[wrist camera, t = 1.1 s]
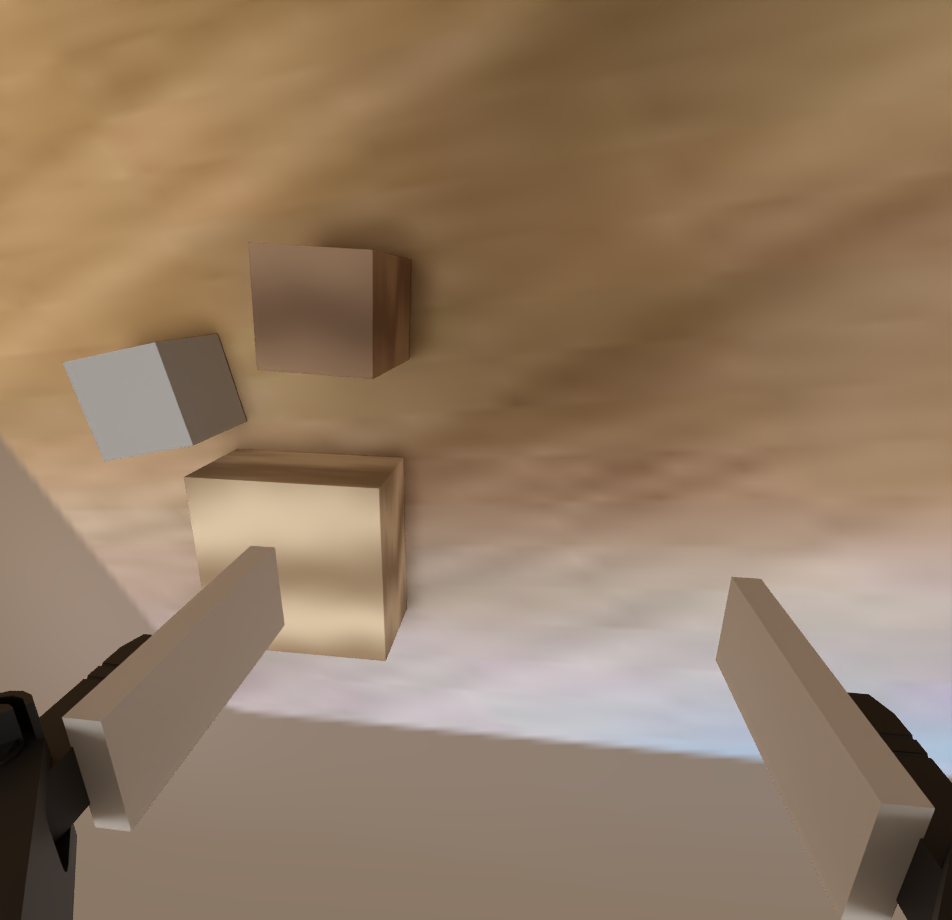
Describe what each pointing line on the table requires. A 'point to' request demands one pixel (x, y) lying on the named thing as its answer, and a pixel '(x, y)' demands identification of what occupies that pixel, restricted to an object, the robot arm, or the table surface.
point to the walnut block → (329, 309)
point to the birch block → (312, 541)
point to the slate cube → (156, 395)
